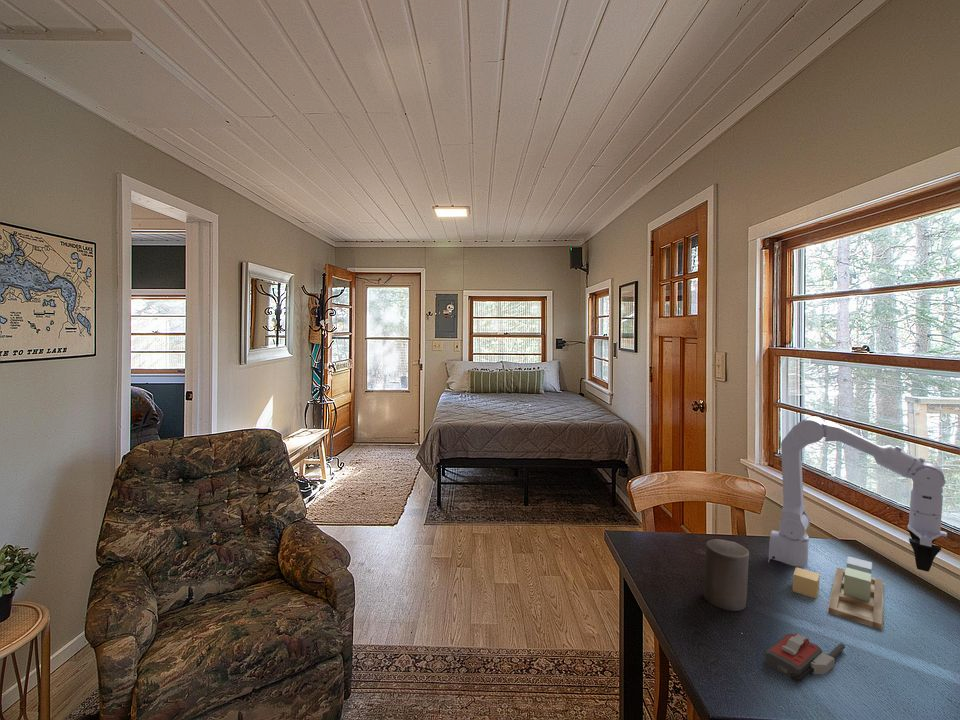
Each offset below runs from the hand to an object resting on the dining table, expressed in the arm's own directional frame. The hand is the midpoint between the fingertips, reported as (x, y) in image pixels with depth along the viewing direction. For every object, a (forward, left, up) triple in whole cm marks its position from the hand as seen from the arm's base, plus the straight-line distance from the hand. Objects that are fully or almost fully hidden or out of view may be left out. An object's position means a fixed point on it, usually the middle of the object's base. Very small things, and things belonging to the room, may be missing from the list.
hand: (921, 564), depth 115 cm
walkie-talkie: (-19, -44, -11) cm, 49 cm away
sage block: (-12, -11, -8) cm, 18 cm away
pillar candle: (-37, -32, -10) cm, 50 cm away
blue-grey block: (-12, -3, -8) cm, 15 cm away
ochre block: (-22, -16, -10) cm, 29 cm away
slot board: (-12, -11, -10) cm, 19 cm away
